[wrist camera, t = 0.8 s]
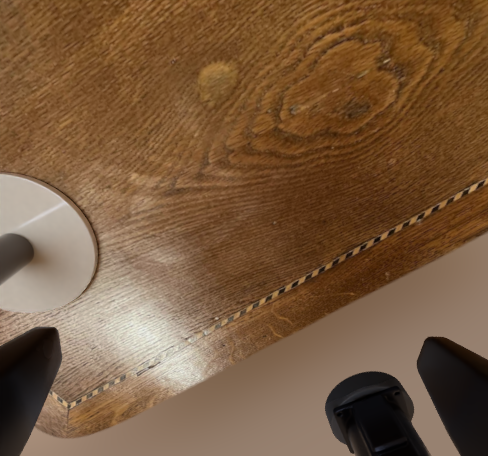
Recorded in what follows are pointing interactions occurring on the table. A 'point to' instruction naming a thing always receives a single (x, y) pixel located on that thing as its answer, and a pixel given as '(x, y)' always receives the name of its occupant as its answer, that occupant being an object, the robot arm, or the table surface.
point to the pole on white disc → (42, 246)
